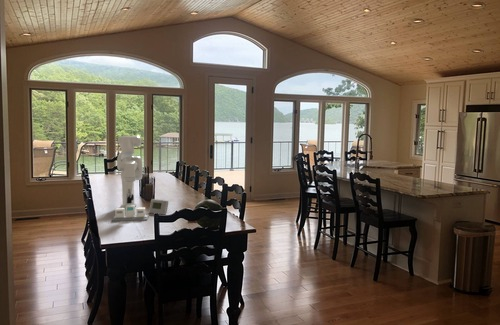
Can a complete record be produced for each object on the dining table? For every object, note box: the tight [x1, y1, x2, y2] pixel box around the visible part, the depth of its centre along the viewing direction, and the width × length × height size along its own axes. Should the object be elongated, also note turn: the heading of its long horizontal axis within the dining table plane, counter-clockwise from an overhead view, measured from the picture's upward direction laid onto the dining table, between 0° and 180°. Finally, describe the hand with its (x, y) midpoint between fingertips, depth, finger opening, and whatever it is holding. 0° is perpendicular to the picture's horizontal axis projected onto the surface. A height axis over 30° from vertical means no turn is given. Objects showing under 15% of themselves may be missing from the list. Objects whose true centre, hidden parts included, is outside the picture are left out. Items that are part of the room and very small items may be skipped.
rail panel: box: [111, 206, 150, 222], centre depth 299 cm, size 13×25×8 cm, turn 98°
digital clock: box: [148, 198, 169, 216], centre depth 317 cm, size 16×9×11 cm, turn 56°
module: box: [125, 205, 136, 217], centre depth 299 cm, size 5×6×8 cm
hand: (130, 201), depth 299 cm, fingers open, 9 cm apart
